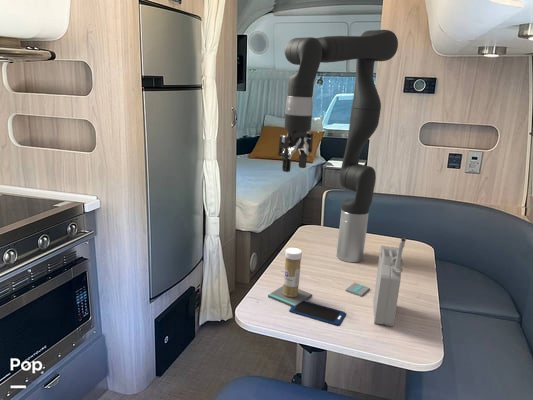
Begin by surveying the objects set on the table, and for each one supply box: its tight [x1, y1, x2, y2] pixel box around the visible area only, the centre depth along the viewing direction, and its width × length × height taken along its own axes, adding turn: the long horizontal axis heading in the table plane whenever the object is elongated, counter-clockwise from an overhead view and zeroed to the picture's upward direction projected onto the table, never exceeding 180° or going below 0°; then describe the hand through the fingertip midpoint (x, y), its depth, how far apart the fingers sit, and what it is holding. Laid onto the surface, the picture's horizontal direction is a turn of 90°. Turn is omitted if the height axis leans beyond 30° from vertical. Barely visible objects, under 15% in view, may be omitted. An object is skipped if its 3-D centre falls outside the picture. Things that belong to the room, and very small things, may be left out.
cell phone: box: [288, 300, 347, 327], centre depth 116 cm, size 7×14×1 cm, turn 65°
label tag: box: [345, 282, 371, 297], centre depth 130 cm, size 6×5×1 cm
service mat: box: [267, 285, 313, 308], centre depth 124 cm, size 9×9×1 cm
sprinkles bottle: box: [282, 247, 303, 297], centre depth 122 cm, size 5×5×13 cm
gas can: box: [372, 237, 407, 327], centre depth 113 cm, size 15×5×25 cm, turn 168°
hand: (294, 169), depth 127 cm, fingers open, 8 cm apart
